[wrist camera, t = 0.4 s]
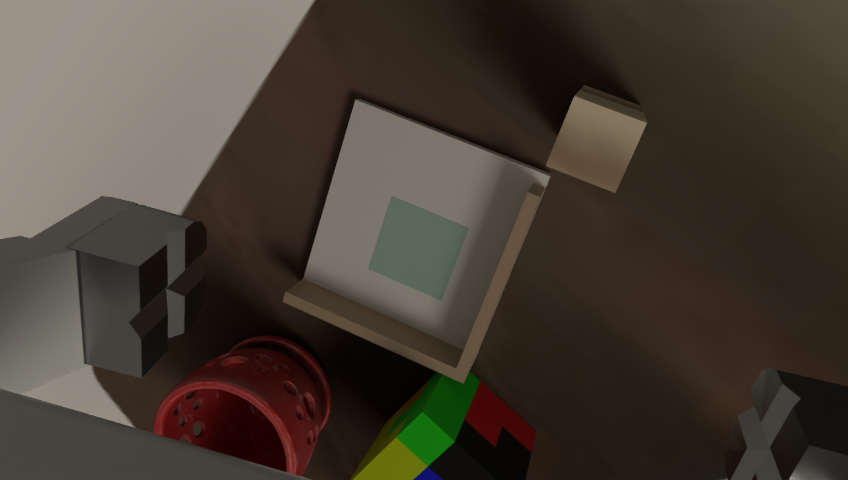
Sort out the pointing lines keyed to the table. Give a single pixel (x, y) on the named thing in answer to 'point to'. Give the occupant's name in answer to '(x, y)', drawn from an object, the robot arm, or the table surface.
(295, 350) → the plant pot
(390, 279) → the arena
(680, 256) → the table surface
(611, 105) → the beech block
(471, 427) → the puzzle toy
